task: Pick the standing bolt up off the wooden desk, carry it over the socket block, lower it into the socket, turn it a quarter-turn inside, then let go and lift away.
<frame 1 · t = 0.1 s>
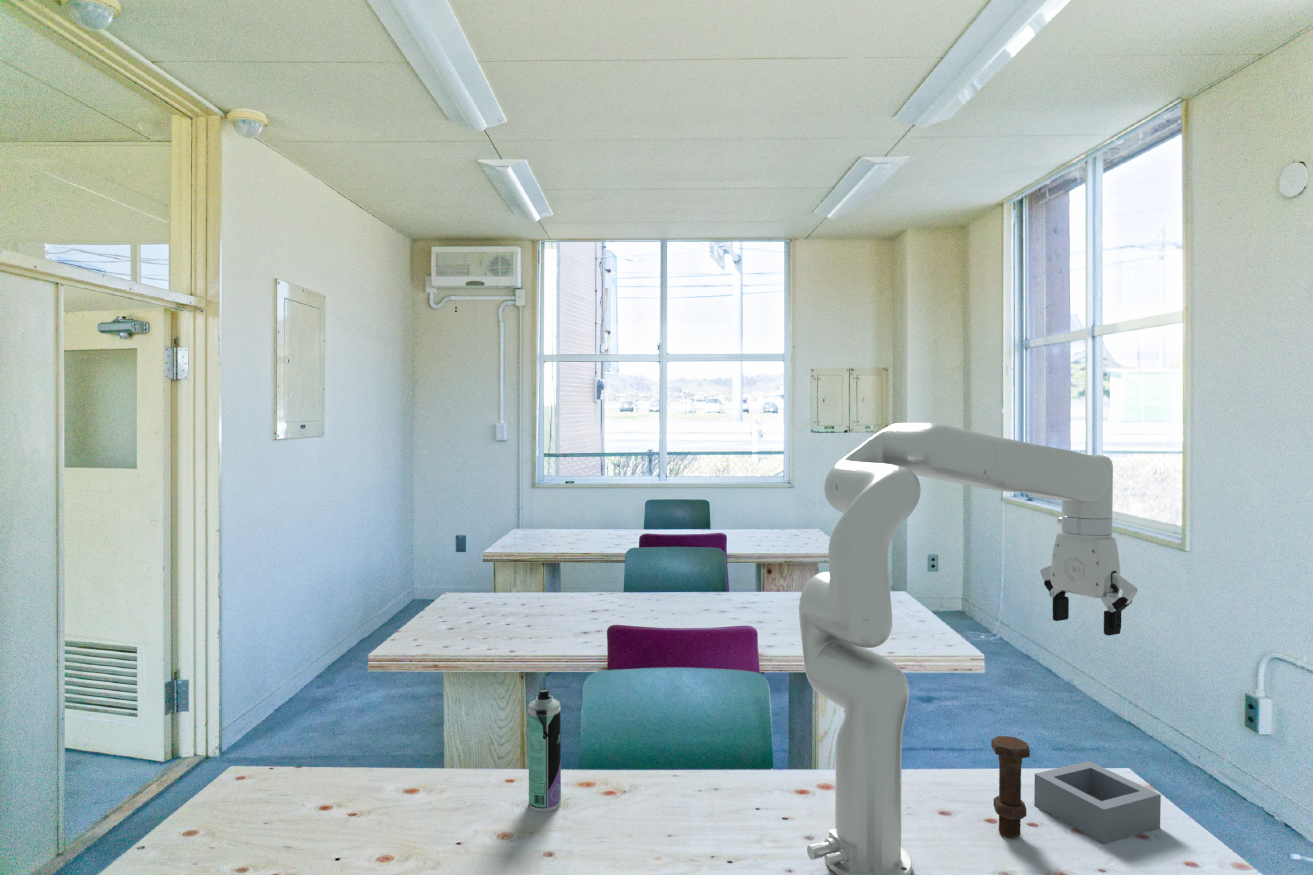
hand: (1085, 626, 129), 31 cm above the table, tool pointing down, fingers open, 9 cm apart
bolt: (1009, 836, 121), on the table
spray can: (544, 805, 131), on the table
socket block: (1095, 816, 127), on the table
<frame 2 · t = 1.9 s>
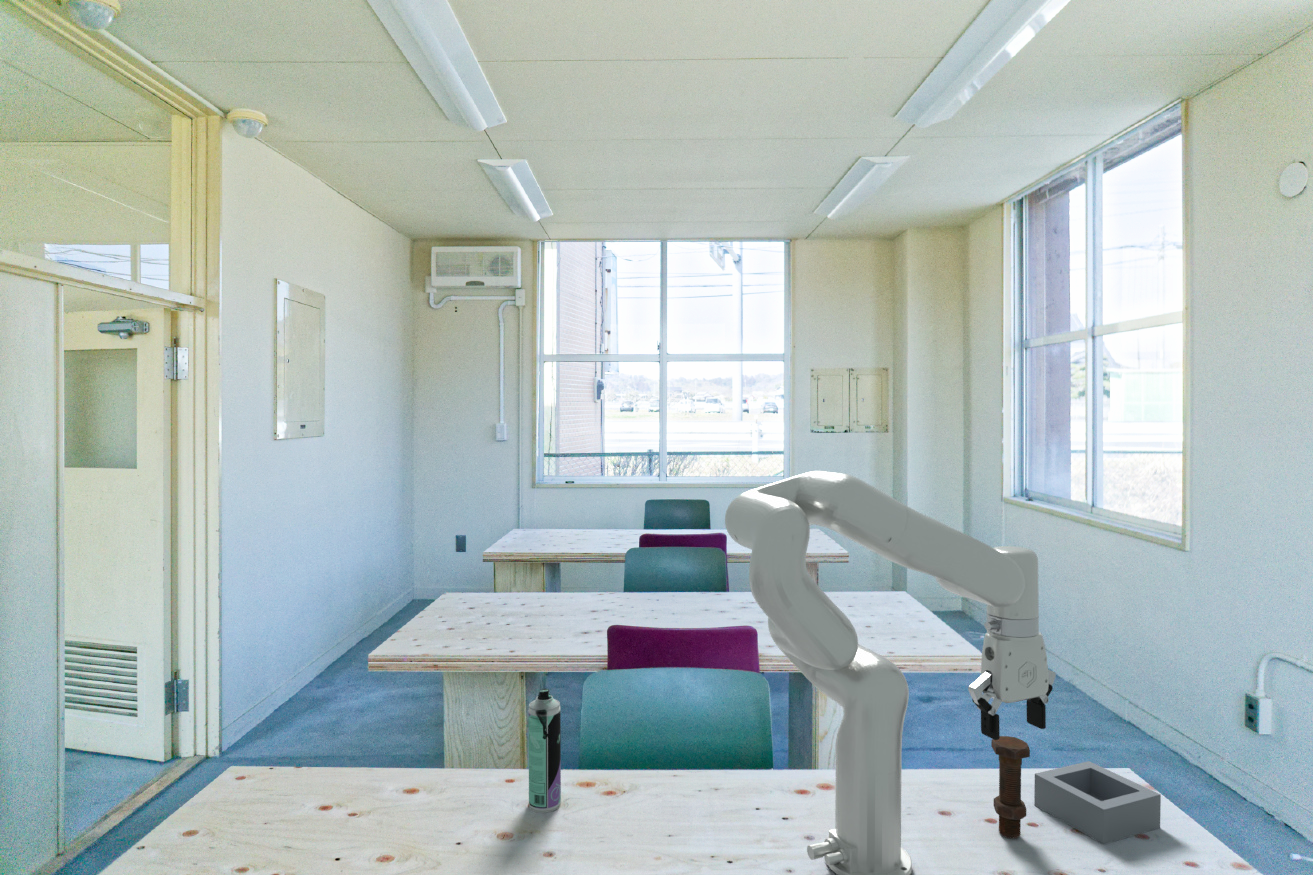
hand: (1013, 731, 121), 17 cm above the table, tool pointing down, fingers open, 9 cm apart
nothing on the table moved.
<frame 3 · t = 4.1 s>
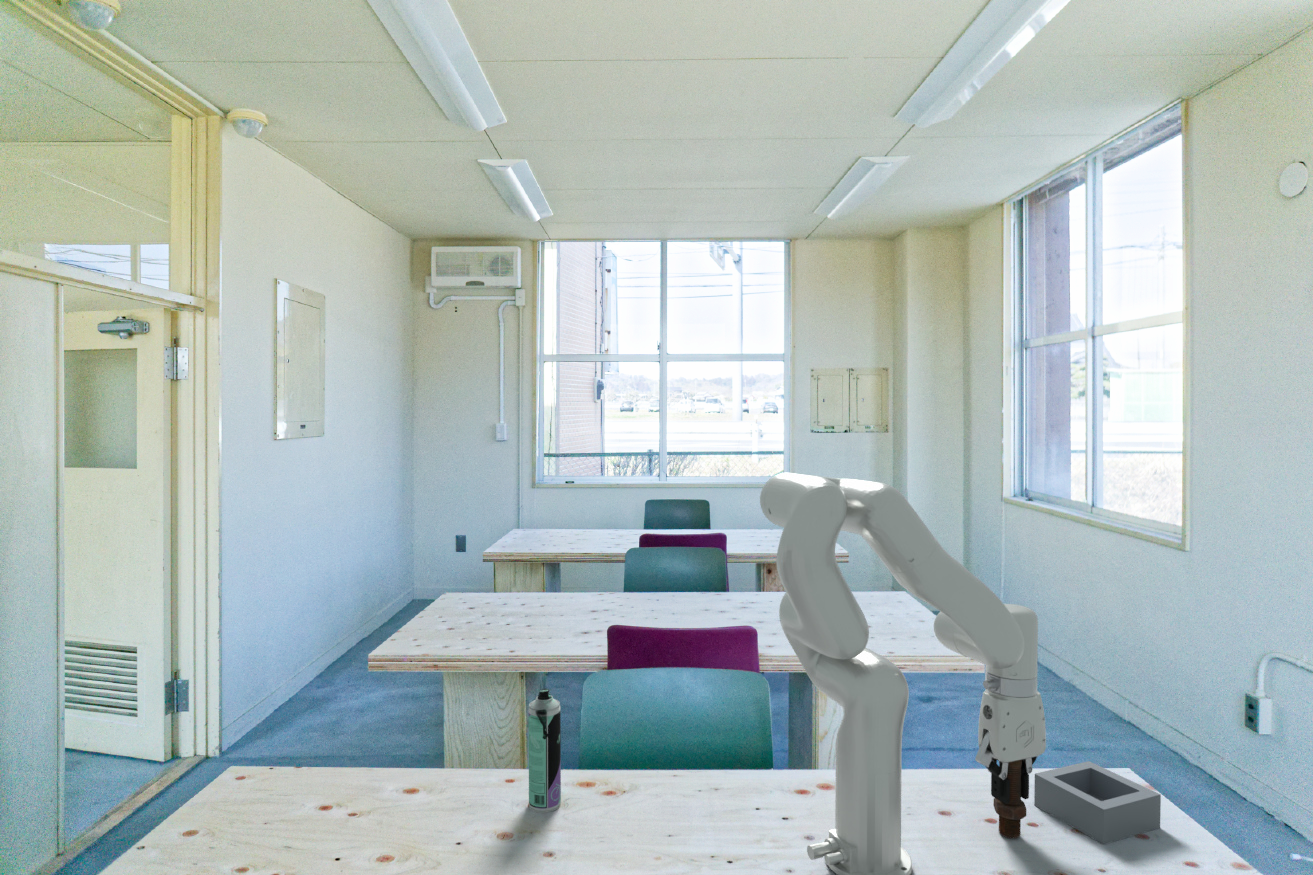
hand: (1009, 796, 121), 6 cm above the table, tool pointing down, fingers closed on bolt, 3 cm apart
bolt: (1009, 836, 121), on the table, touching gripper
everything else where it was.
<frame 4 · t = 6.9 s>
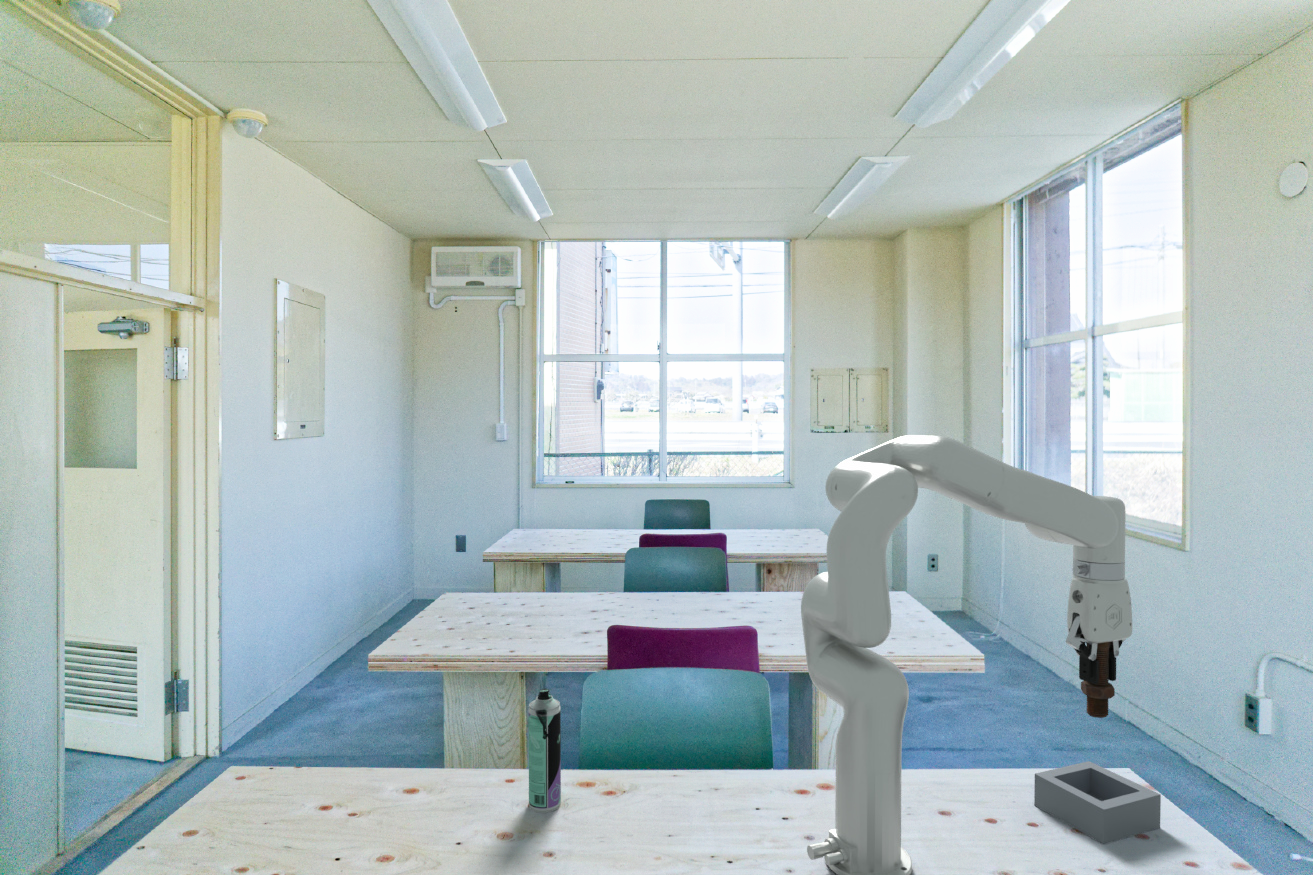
hand: (1097, 678, 127), 23 cm above the table, tool pointing down, fingers closed on bolt, 3 cm apart
bolt: (1097, 716, 127), point 17 cm above the table, touching gripper
everything else where it was.
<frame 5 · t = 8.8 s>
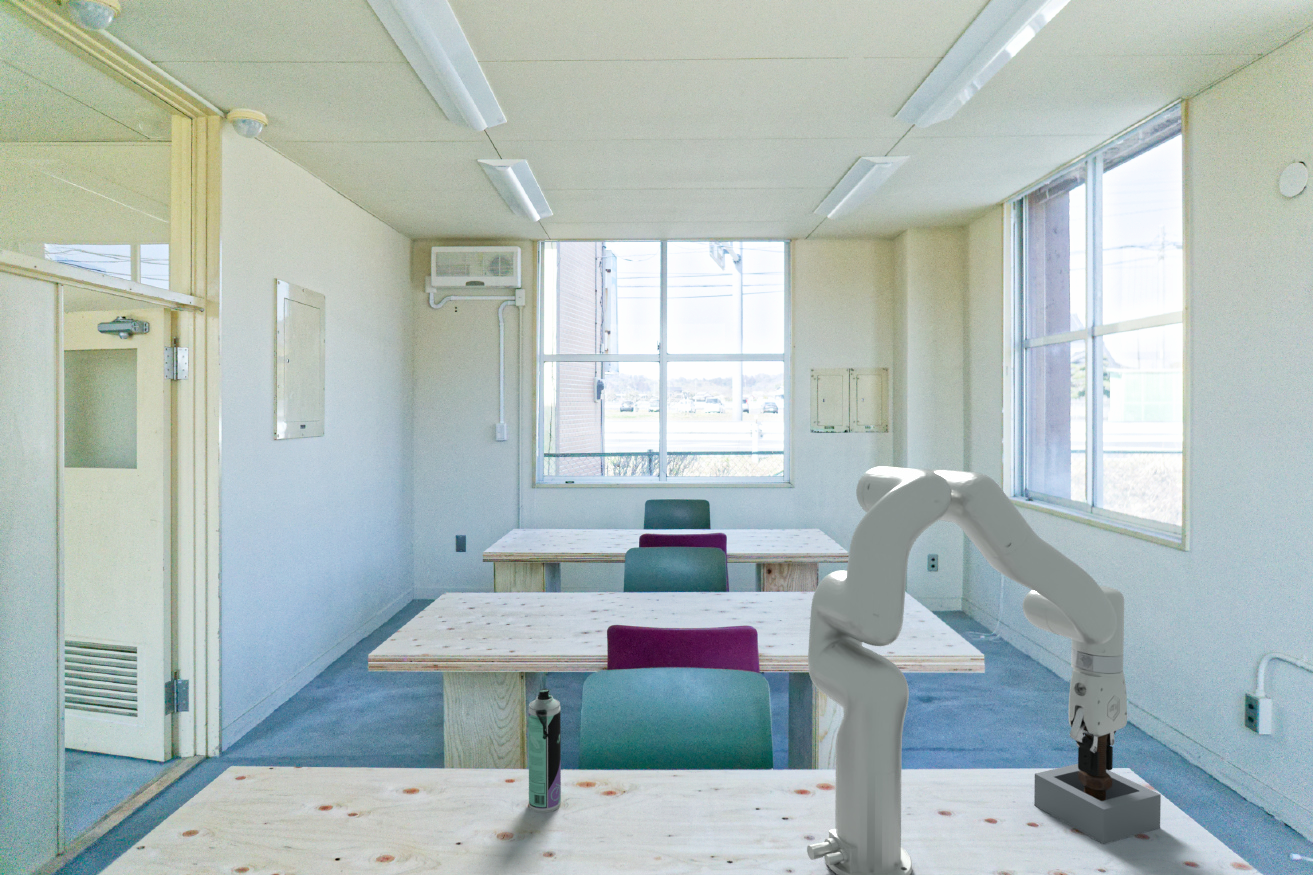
hand: (1095, 768, 127), 8 cm above the table, tool pointing down, fingers closed on bolt, 3 cm apart
bolt: (1094, 806, 127), point 2 cm above the table, touching gripper
everything else where it was.
when the fingers open (8 cm above the table, at t = 10.0 s): bolt moves 1 cm, resting on socket block.
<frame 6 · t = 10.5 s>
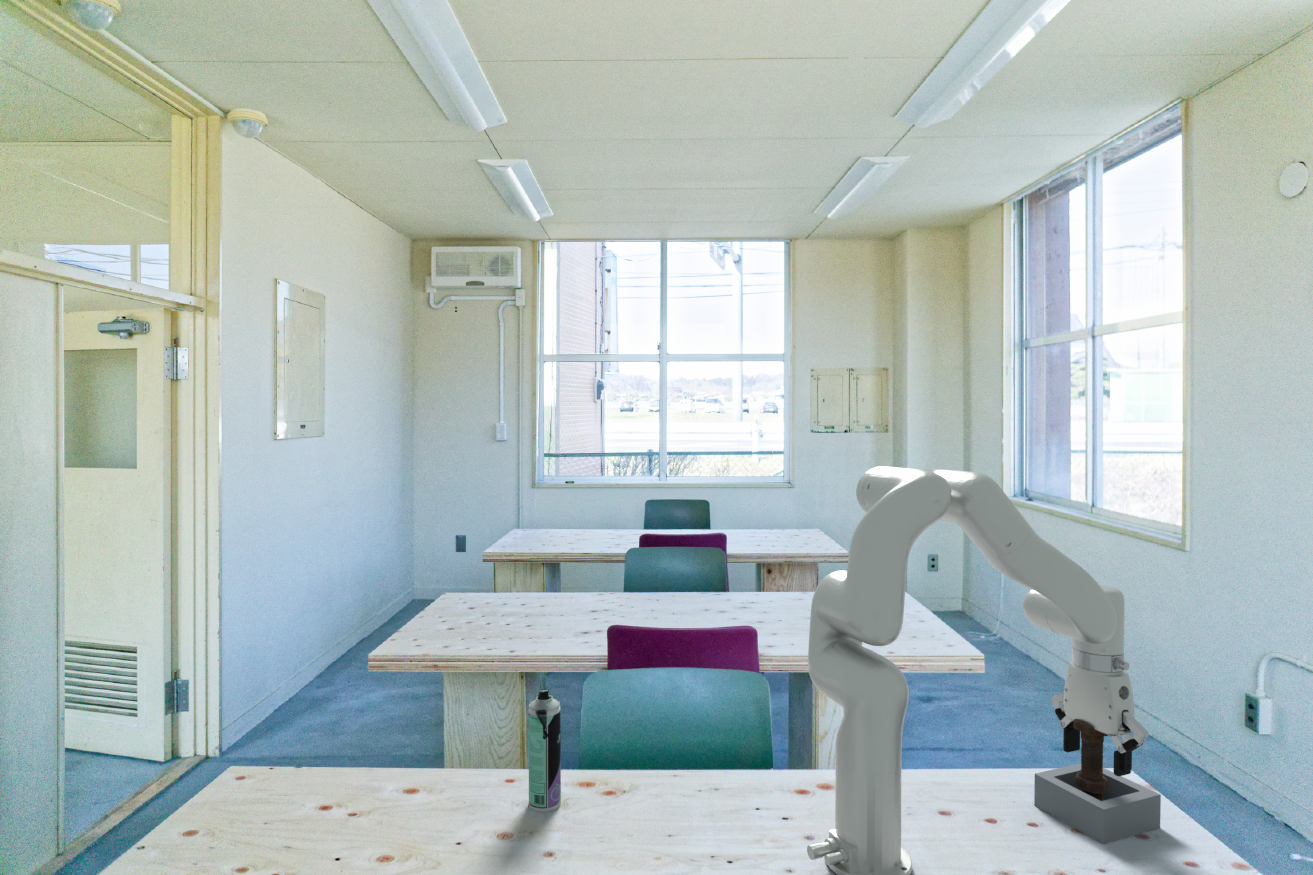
hand: (1096, 762, 127), 9 cm above the table, tool pointing down, fingers open, 9 cm apart
bolt: (1091, 809, 128), point 1 cm above the table, touching socket block
everything else where it was.
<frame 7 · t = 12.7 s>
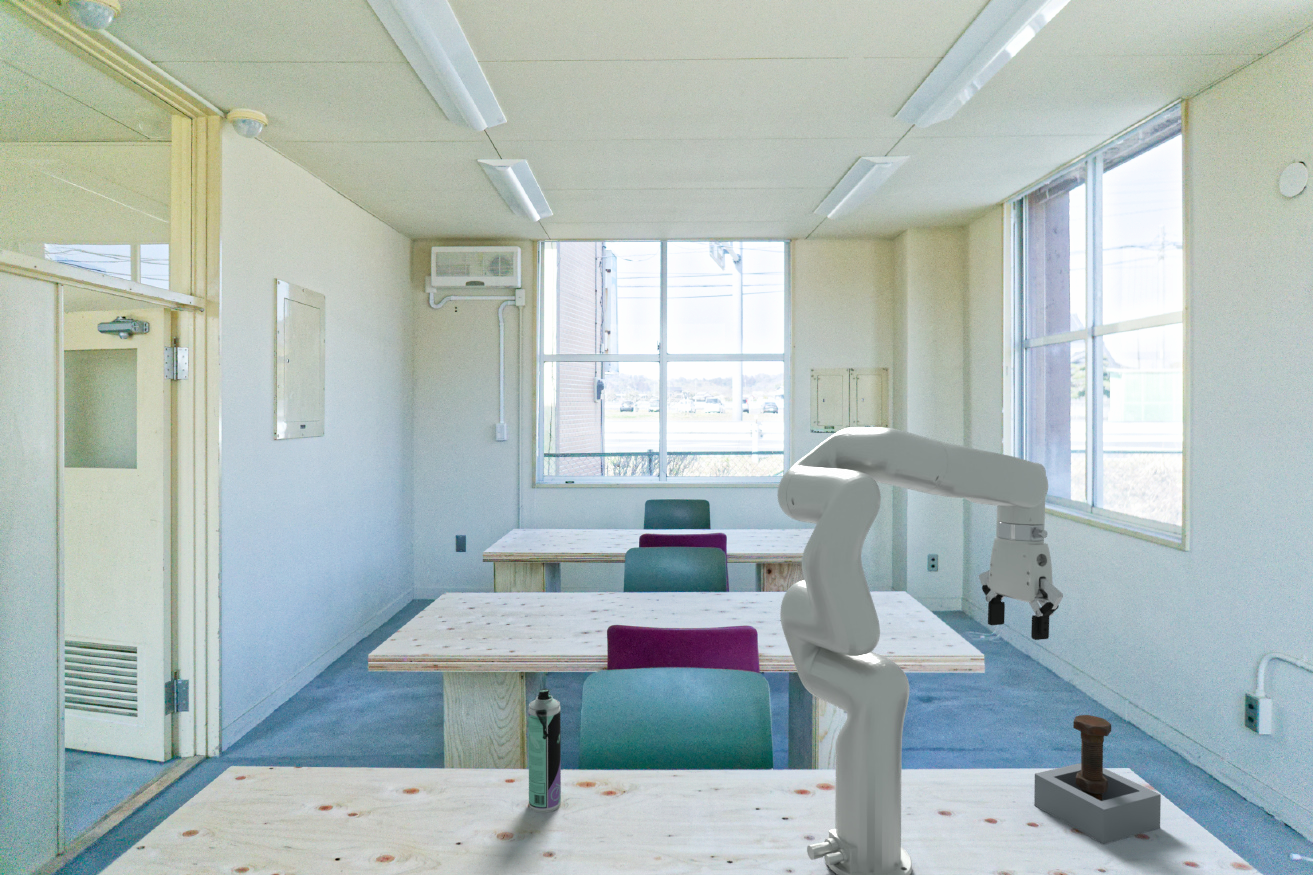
hand: (1017, 631, 131), 30 cm above the table, tool pointing down, fingers open, 9 cm apart
nothing on the table moved.
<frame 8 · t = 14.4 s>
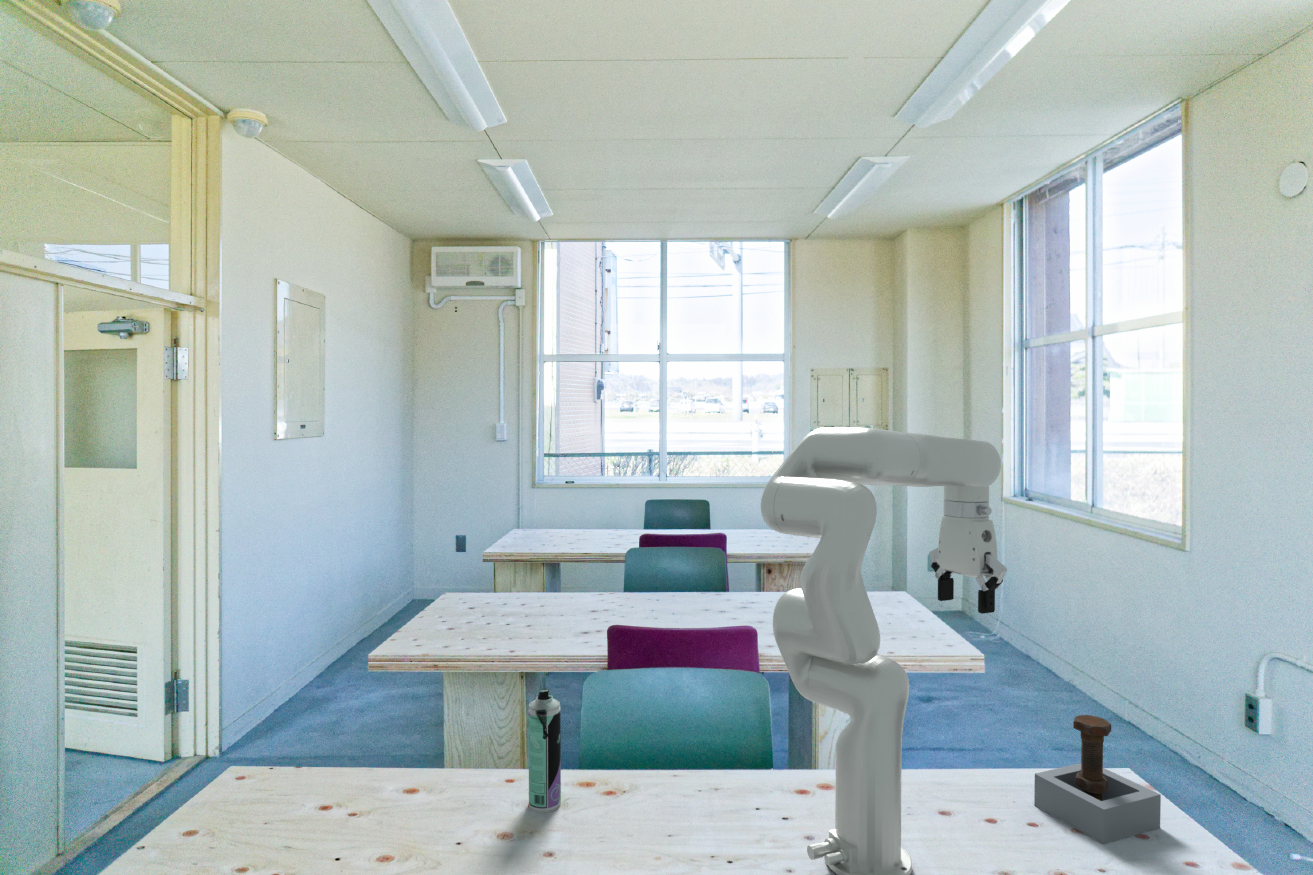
hand: (965, 606, 135), 33 cm above the table, tool pointing down, fingers open, 9 cm apart
nothing on the table moved.
at the end: bolt 0.6 cm off-centre on the socket block, point 0.8 cm above the socket block's base; bolt tilted 0°; the gripper is holding nothing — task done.
